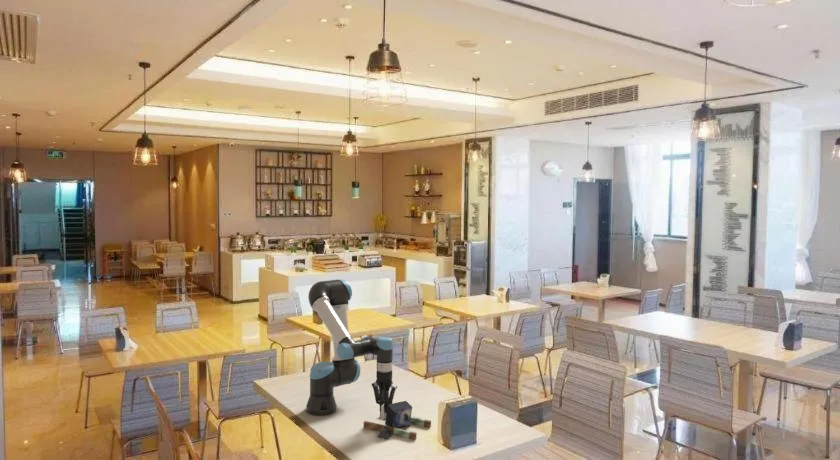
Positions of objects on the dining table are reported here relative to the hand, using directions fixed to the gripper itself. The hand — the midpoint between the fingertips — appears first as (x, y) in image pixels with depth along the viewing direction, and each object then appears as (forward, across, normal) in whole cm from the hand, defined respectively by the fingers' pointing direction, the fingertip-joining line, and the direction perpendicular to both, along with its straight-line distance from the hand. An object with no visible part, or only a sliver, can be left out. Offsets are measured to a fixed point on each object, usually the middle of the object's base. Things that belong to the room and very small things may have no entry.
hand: (383, 418), depth 276 cm
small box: (+3, +7, +1) cm, 7 cm away
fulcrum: (+3, +7, -12) cm, 14 cm away
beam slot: (+3, +7, 0) cm, 8 cm away
